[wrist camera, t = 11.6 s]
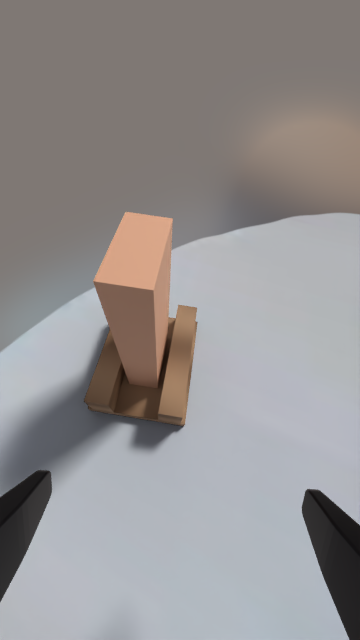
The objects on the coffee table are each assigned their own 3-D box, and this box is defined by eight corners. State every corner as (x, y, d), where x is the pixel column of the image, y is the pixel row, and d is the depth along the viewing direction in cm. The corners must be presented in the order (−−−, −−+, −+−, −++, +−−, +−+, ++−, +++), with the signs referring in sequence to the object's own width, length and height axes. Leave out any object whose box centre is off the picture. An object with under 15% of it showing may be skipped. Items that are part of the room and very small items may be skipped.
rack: (183, 426, 20) (187, 418, 17) (90, 410, 20) (79, 400, 17) (196, 325, 25) (200, 308, 22) (123, 314, 25) (118, 295, 23)
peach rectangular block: (157, 388, 20) (153, 290, 10) (129, 383, 20) (93, 281, 10) (167, 338, 23) (172, 218, 12) (142, 334, 23) (125, 211, 12)
